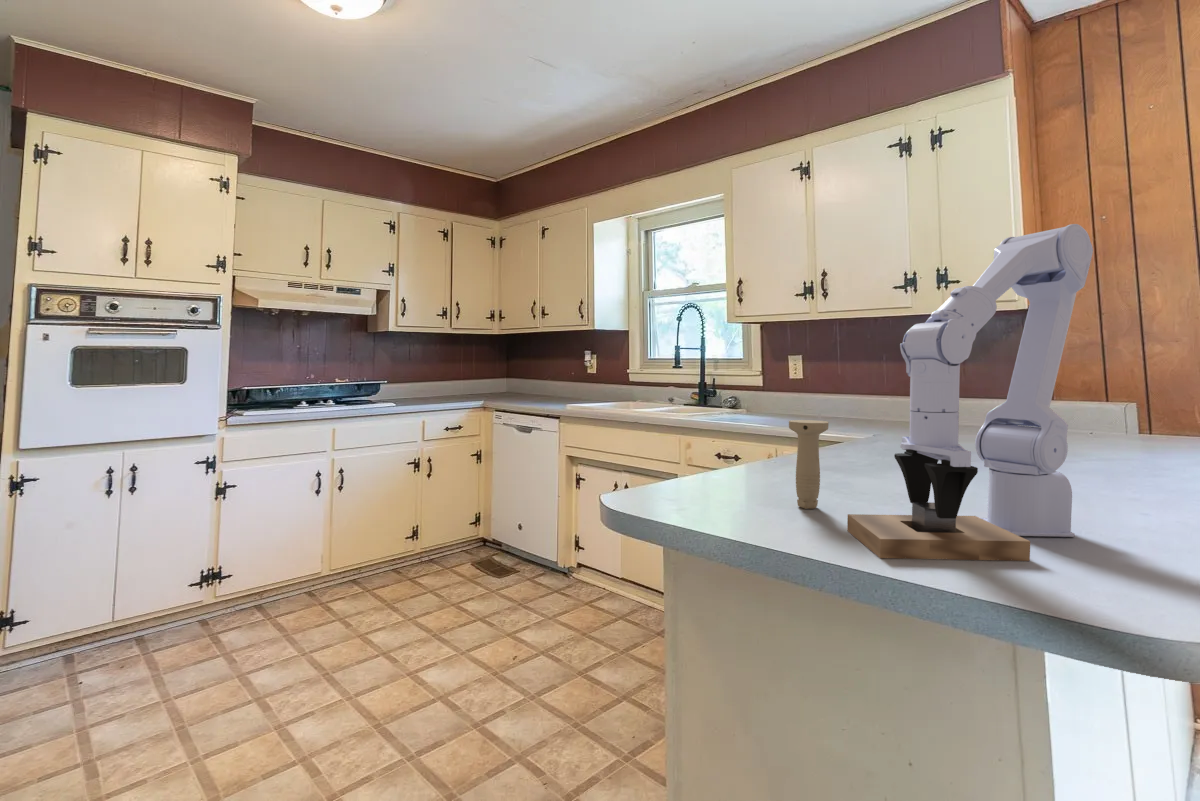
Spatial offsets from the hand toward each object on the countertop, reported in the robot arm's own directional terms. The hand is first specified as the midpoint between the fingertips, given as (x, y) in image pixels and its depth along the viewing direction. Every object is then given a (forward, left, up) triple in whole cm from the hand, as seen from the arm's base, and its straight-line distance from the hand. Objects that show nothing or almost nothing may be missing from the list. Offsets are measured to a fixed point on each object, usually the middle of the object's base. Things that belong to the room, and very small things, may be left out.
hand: (931, 510), depth 77 cm
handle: (+11, -20, -5) cm, 23 cm away
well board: (0, 0, -5) cm, 5 cm away
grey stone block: (0, 0, -5) cm, 5 cm away
